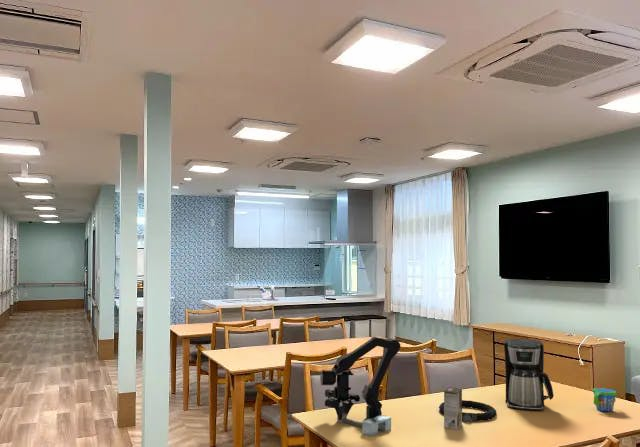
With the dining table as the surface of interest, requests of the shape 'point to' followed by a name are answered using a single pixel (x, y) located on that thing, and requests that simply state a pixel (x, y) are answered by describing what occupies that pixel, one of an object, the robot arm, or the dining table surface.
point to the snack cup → (604, 399)
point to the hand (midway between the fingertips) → (342, 419)
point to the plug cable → (349, 421)
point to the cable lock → (475, 416)
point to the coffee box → (452, 408)
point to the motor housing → (376, 425)
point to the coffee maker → (525, 374)
